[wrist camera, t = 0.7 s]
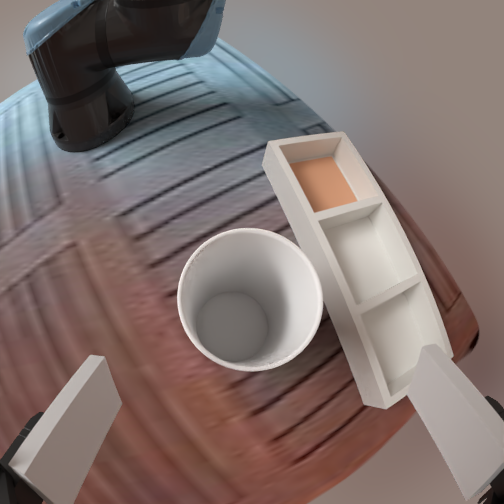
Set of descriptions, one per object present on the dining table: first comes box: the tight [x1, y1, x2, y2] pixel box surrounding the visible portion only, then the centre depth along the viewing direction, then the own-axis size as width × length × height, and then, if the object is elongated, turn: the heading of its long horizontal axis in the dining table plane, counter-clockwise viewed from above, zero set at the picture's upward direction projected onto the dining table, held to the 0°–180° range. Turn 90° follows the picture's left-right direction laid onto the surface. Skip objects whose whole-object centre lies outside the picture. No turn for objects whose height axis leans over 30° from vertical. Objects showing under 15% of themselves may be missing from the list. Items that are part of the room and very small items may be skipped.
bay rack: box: [262, 132, 454, 409], centre depth 33 cm, size 34×12×5 cm, turn 21°
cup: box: [177, 228, 323, 371], centre depth 23 cm, size 8×8×16 cm
